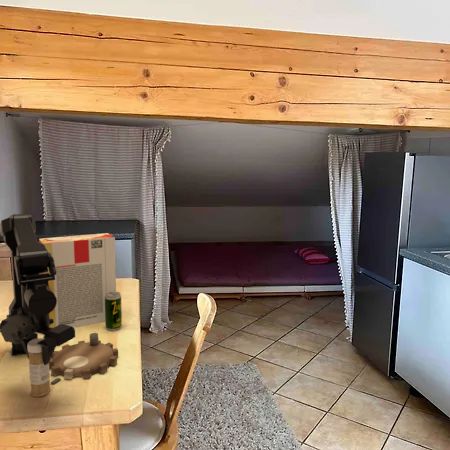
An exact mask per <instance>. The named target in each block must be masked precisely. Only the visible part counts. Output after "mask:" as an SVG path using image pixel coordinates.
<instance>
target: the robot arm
mask: <svg viewBox="0 0 450 450" xmlns="http://www.w3.org/2000/svg"><path fill="white" fill-rule="evenodd" d="M36 227H37V226H36V220H35V218H34V217H32V215H31V214H30V213H29V214H28V213H19V214H18V213H16V214H15V213H14V214H12V215H9V217H7V218H4V219H2V220H0V235H1V237H3V242H4V243H5V244H6V245H7V247H8V249H10V260H11V261H10V263H11V272H12V273H11V274H12V275H11V276H12V287H13V288H12V289H13V290H12V291H13V299H12V301H11V302H10V305H9V306H8V314H6V318H5V319H2V320H1V321H0V334H1V336H2V338H3V340H4V342H5V343H11V356H16V355H23V354H24V355H26V357H27V358H28V360H29V353H28V348H27V344H28V342H29V341H31V340H33V339H37V338H39V337H38V335H43V337H42V338H43V340H41V341H39V342H37V344H38V345H40V346H41V348H42V357H43V363H44V365H47V364H48V363H49V361H50V359H51V356H52V354H53V352H54V351H56V350H55V349H56V347H60V346H63V345H64V344H65V343H68V342H69V341H71V340H73V339H75V338H76V328H73V327H72V326H68V325H64V324H60V325H58V326H56V327H54V328H51V327H49V325H50V324H52V323H54V321H53V319H51V318H49V313H50V312H52V311H53V310H54V308H55V307H56V304H57V299H56V296H55V294H54V293H53V292H52V290H51V289H50V287H49V284H48V281H51V280H55V275H56V268H55V263H54V259H53V257H52V256H51V253H48V251H47V249H46V247H45V245H44V244H41V243H39V240H38V239H37V235H36V232H37V228H36ZM48 268H49V272H50V273H46V272H48ZM41 273H45V274H41Z"/></svg>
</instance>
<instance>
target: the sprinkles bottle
mask: <svg viewBox="0 0 450 450" xmlns="http://www.w3.org/2000/svg"><path fill="white" fill-rule="evenodd" d="M41 340H43V337H38V338H37V339H33V340H31V341H29V342H28V344H27V348H28V353H29V359H28V361H29V362H28V364H29V365H28V370H29V382H30V395H31V396H32V397H36V398H38V397H39V398H40V397H44V396H46V395H48V394H49V393H50V392H51V387H50V385H51V381H50V375H51V374H50V369H49V363H48V364H47V365H44V363H43V357H42V348H41V346H40V345H38V344H37V342H39V341H41Z"/></svg>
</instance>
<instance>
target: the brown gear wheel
mask: <svg viewBox="0 0 450 450" xmlns="http://www.w3.org/2000/svg"><path fill="white" fill-rule="evenodd" d="M118 358H119V349H118V348H116V347H115V348H114V344H113V343H111V342H107V343H102V341H101V339H100V340H99V334H98V332H93V333H90V334H89V342H88V341H87V342H86V341H85V340H80V341H79V340H78V342H77V343H76V344H75V343H74V344H71V345H70V344H65V345H64V344H63V345H61V349H60V350H54V352H53V354H52V356H51V359H50V361H49V370H50V372H51V374H50V375H53V376H54V377H56V376H58V375H62V376H63V377H64V379H65V380H72V379H73V378H74V377H82V378H83V380H84V379H89V378H90V379H91V375H94V374H97V373H100V374H102V375H103V374H105V373H106V372H108V370H109V369H108V368H109V366H112V367H113V366H116V365H117V364H118Z"/></svg>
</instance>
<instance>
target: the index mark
mask: <svg viewBox="0 0 450 450" xmlns="http://www.w3.org/2000/svg"><path fill="white" fill-rule="evenodd" d="M61 380H62V379H61V377H57V378H55V379H54V380H52V381H50V385H52V386H53V385H54V386H55V385H56V384H58V383H59V382H60V381H61Z"/></svg>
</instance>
